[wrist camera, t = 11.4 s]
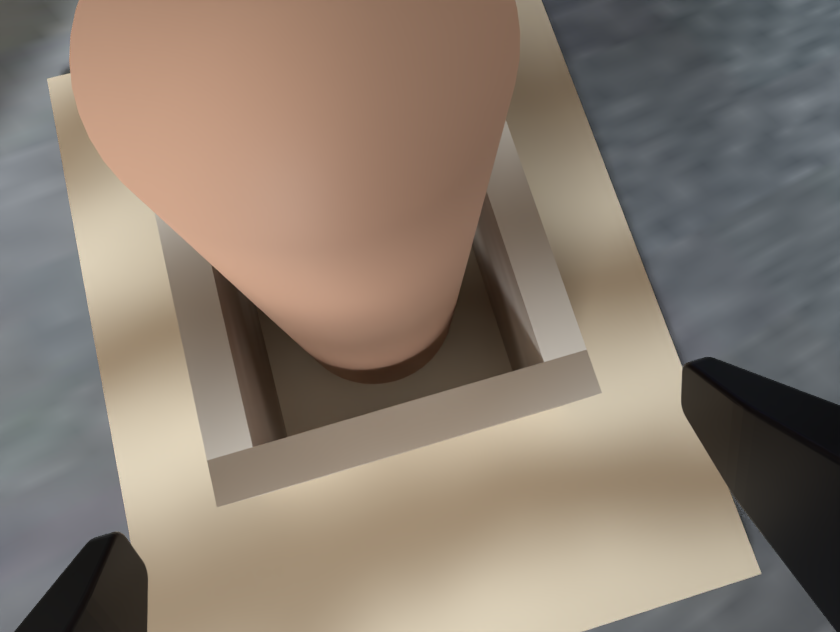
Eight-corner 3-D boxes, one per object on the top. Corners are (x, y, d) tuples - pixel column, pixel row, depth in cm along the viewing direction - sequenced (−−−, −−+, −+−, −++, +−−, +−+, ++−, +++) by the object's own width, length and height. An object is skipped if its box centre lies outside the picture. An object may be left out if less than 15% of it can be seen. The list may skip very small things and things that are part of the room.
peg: (484, 318, 18) (613, 68, 6) (358, 417, 17) (236, 344, 6) (388, 201, 19) (342, -217, 7) (264, 292, 18) (-15, 0, 6)
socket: (749, 569, 17) (867, 611, 13) (180, 752, 16) (87, 869, 12) (522, -27, 21) (551, -156, 17) (57, 89, 20) (-46, -14, 16)
